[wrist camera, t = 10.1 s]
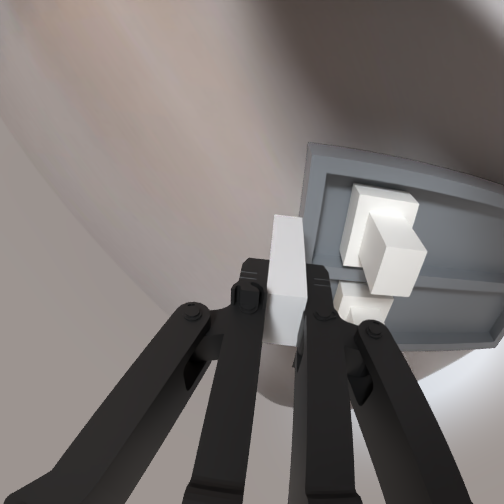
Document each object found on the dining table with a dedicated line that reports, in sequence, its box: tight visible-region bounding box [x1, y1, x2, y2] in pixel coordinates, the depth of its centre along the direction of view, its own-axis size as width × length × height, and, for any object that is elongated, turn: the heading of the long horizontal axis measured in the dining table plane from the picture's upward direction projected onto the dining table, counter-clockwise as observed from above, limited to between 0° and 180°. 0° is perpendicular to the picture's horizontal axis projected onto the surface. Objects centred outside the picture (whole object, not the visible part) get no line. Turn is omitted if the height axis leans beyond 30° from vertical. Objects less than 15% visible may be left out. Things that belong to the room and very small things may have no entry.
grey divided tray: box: [285, 142, 504, 351], centre depth 22 cm, size 16×24×4 cm, turn 87°
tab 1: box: [339, 183, 427, 297], centre depth 17 cm, size 5×4×6 cm
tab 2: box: [333, 280, 394, 326], centre depth 21 cm, size 5×4×6 cm
